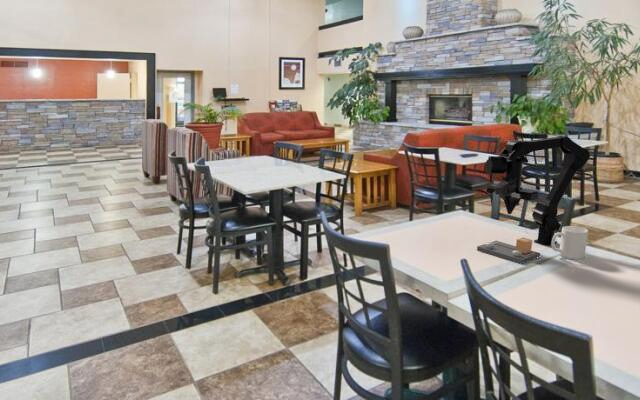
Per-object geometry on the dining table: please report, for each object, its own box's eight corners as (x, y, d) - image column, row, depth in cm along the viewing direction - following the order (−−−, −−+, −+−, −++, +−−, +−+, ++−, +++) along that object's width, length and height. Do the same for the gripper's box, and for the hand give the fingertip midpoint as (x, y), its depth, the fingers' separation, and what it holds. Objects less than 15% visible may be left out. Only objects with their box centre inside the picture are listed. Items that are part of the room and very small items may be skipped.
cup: (589, 260, 174) (593, 232, 172) (555, 260, 174) (558, 232, 171) (576, 252, 182) (580, 226, 180) (544, 252, 182) (547, 225, 180)
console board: (496, 244, 191) (496, 236, 190) (539, 257, 177) (540, 249, 176) (476, 250, 184) (477, 242, 183) (521, 263, 170) (522, 255, 169)
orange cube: (521, 248, 180) (523, 237, 179) (531, 251, 177) (532, 239, 176) (515, 251, 177) (516, 239, 176) (524, 253, 175) (526, 241, 174)
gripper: (479, 172, 188) (475, 212, 191) (524, 179, 173) (519, 222, 177) (496, 169, 194) (493, 208, 198) (541, 176, 180) (536, 217, 183)
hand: (509, 213), depth 189 cm, fingers closed
